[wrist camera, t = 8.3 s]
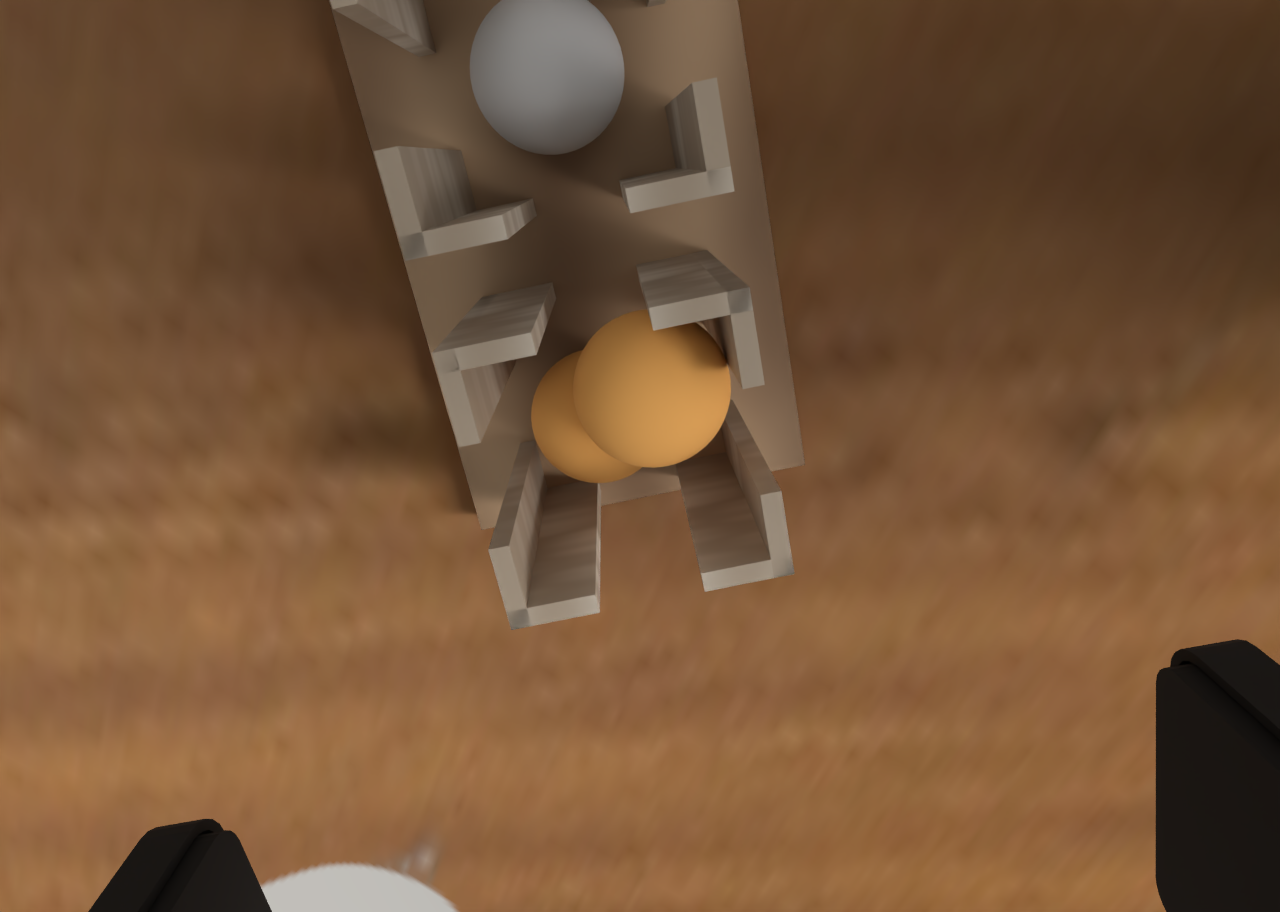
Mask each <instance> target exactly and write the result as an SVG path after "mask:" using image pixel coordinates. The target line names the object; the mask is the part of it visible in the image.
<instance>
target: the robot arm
mask: <svg viewBox="0 0 1280 912" xmlns="http://www.w3.org/2000/svg"><path fill="white" fill-rule="evenodd" d="M1156 883H1157V888H1158V892H1159V895H1160V898H1161V901H1162V903H1163V906H1164V908H1165V910H1166V912H1280V665H1279V664H1278V663H1276V662H1275V661H1274V660H1272V659H1271V658H1270V657H1269V656H1267V655H1266V654H1265V653H1264V652H1262V651H1261V650H1260V649H1258V648H1257V647H1256V646H1254V645H1253V644H1251V643H1249V642H1247V641H1245V640H1238V639H1237V640H1231V641H1225V642H1220V643H1214V644H1208V645H1202V646H1197V647H1191V648H1185V649H1180V650H1178V651H1176V652H1175V653H1174V655H1173V657H1172V659H1171V665H1170V667H1168V668H1163V669H1161V670H1160V671H1159V673H1158V674H1157V680H1156ZM89 912H272V911H271V909H270V907H269V904H268V902H267V900H266V898H265V896H264V893H263V891H262V889H261V887H260V885H259V882H258V880H257V878H256V876H255V873H254V871H253V869H252V867H251V865H250V862H249V860H248V858H247V856H246V854H245V851H244V849H243V847H242V845H241V843H240V840H239V839H238V837H237V836H236V834H235V833H233V832H232V831H226V830H225V831H224V830H223V828H222V827H221V825H220V824H219V823H217V822H216V821H215V820H213V819H202V820H196V821H190V822H184V823H179V824H173V825H167V826H162V827H156V828H154V829H152V830H150V831H148V832H147V833H146V834H145V835H144V836H143V837H142V838H141V839H140V840H139V842H138V843H137V845H136V846H135V847H134V849H133V850H132V852H131V853H130V854H129V856H128V857H127V859H126V860H125V861H124V863H123V864H122V866H121V867H120V868H119V870H118V871H117V873H116V874H115V875H114V877H113V878H112V879H111V881H110V882H109V884H108V885H107V886H106V888H105V889H104V891H103V892H102V893H101V895H100V896H99V898H98V899H97V900H96V902H95V903H94V905H93V906H92V907H91V909H90V910H89Z"/></svg>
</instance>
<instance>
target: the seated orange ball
mask: <svg viewBox="0 0 1280 912" xmlns="http://www.w3.org/2000/svg"><path fill="white" fill-rule="evenodd" d="M582 351H583V350H581V351H578V352H575V353H572V354H570V355H568V356H566V357H564V358H563V359H561V360H560V361H558V362H557V363H556V364H555V365H553V366H552V367H551V368H550V369H549V370H548V371H547V373H546V374H545V375H544V377H543V378H542V380H541V381H540V383H539V385H538V387H537V389H536V392H535V395H534V398H533V402H532V410H531V422H532V428H533V433H534V437H535V439H536V442H537V444H538V446H539V448H540V449H541V451H542V453H543V454H544V456H545V457H546V458H547V459H548V461H549V462H550V463H551V464H552V465H553V466H554V467H556V468H557V469H558V470H560V471H561V472H563V473H564V474H566V475H568V476H570V477H572V478H574V479H577V480H580V481H584V482H590V483H608V482H613V481H617V480H620V479H623V478H626V477H628V476H630V475H632V474H634V473H635V472H637V471H638V470H639V469H641V468H642V467H639V466H634V465H630V464H627V463H624V462H621V461H619V460H617V459H615V458H613V457H612V456H610V455H608V454H607V453H605V452H604V451H603V450H602V449H601V448H599V447H598V446H597V445H596V444H595V443H594V442H593V440H592V439H591V438H590V437H589V436H588V434H587V433H586V431H585V430H584V428H583V426H582V424H581V422H580V420H579V418H578V415H577V412H576V408H575V404H574V397H573V380H574V374H575V369H576V365H577V362H578V359H579V357H580V355H581V353H582Z"/></svg>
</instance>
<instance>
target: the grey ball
mask: <svg viewBox="0 0 1280 912" xmlns="http://www.w3.org/2000/svg"><path fill="white" fill-rule="evenodd" d="M470 79H471V84H472V89H473V93H474V96H475V99H476V101H477V104H478V106H479V108H480V110H481V112H482V113H483V115H484V117H485V118H486V120H487V121H488V122H489V124H490V125H491V126H492V127H493V128H494V129H495V130H496V131H497V132H498V133H499V134H500V135H501V136H502V137H503V138H504V139H506V140H507V141H508V142H510V143H512V144H513V145H515V146H517V147H519V148H521V149H523V150H526V151H529V152H533V153H536V154H544V155H557V154H564V153H568V152H572V151H575V150H577V149H579V148H582V147H584V146H585V145H587V144H589V143H590V142H592V141H593V140H594V139H595V138H597V137H598V136H599V135H600V134H601V133H602V132H603V131H604V130H605V129H606V127H607V126H608V125H609V123H610V122H611V120H612V119H613V117H614V115H615V113H616V111H617V109H618V106H619V104H620V101H621V97H622V93H623V88H624V61H623V55H622V51H621V47H620V45H619V42H618V39H617V37H616V34H615V33H614V31H613V29H612V27H611V25H610V24H609V22H608V21H607V19H606V18H605V17H604V15H603V14H602V13H601V12H600V11H599V10H598V9H597V8H596V7H595V6H594V5H593V4H591V3H590V2H589V1H588V0H501V1H500V2H499V3H498V4H496V5H495V6H494V7H493V8H492V9H491V10H490V12H489V13H488V14H487V15H486V17H485V18H484V20H483V21H482V23H481V24H480V26H479V28H478V31H477V33H476V35H475V38H474V41H473V44H472V49H471V55H470Z"/></svg>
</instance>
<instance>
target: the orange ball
mask: <svg viewBox="0 0 1280 912" xmlns="http://www.w3.org/2000/svg"><path fill="white" fill-rule="evenodd" d="M730 396H731V379H730V374H729V369H728V365H727V362H726V359H725V357H724V355H723V353H722V351H721V349H720V347H719V346H718V344H717V343H716V341H715V340H714V339H713V337H712V336H711V335H710V334H709V333H708V332H707V331H706V330H705V329H704V328H703V327H701V326H700V325H699V324H697V323H696V322H693V323H688V324H683V325H678V326H673V327H669V328H664V329H659V330H654V331H653V328H652V324H651V321H650V317H649V314H648V310H647V309H644V310H638V311H633V312H630V313H627V314H624V315H621V316H619V317H617V318H615V319H613V320H611V321H610V322H608V323H607V324H605V325H604V326H603V327H602V328H600V329H599V330H598V331H597V332H596V333H595V334H594V335H593V336H592V338H591V339H590V340H589V341H588V343H587V345H586V346H585V348H584V349H583V351H582V353H581V355H580V357H579V359H578V362H577V365H576V369H575V374H574V380H573V397H574V404H575V408H576V412H577V415H578V418H579V420H580V422H581V424H582V426H583V428H584V430H585V431H586V433H587V434H588V436H589V437H590V438H591V439H592V440H593V442H594V443H595V444H596V445H597V446H598V447H599V448H601V449H602V450H603V451H604V452H605V453H607V454H608V455H610V456H612V457H613V458H615V459H617V460H619V461H621V462H624V463H627V464H630V465H634V466H639V467H652V468H656V467H664V466H670V465H673V464H677V463H680V462H682V461H684V460H687V459H689V458H690V457H692V456H694V455H695V454H697V453H698V452H699V451H701V450H702V449H703V448H704V447H706V446H707V445H708V443H709V442H710V441H711V440H712V439H713V438H714V437H715V435H716V434H717V432H718V431H719V429H720V427H721V426H722V424H723V422H724V419H725V417H726V414H727V411H728V407H729V403H730Z"/></svg>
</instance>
